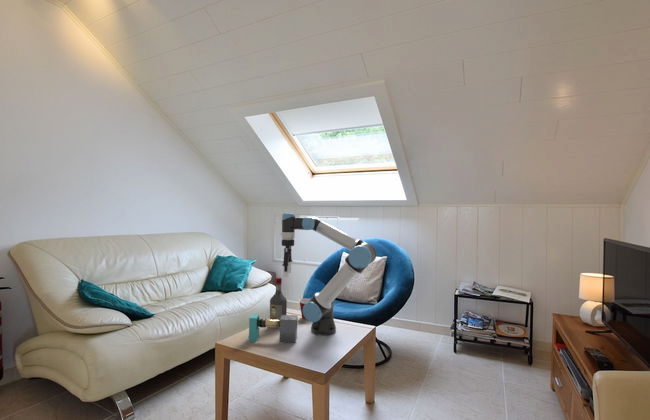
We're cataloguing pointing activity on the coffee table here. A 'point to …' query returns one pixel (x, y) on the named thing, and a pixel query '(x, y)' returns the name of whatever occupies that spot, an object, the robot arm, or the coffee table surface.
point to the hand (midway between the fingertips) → (287, 274)
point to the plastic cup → (302, 303)
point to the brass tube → (267, 323)
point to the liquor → (278, 303)
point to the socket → (253, 328)
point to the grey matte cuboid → (288, 328)
